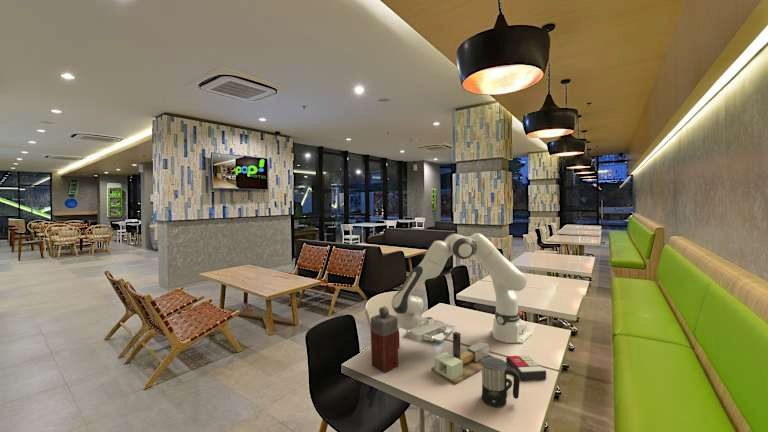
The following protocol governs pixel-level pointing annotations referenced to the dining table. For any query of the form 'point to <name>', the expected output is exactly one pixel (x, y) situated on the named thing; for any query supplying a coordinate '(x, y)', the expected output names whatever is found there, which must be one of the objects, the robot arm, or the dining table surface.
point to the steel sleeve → (479, 351)
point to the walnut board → (465, 371)
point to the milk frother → (497, 381)
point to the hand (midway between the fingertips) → (440, 336)
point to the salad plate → (441, 337)
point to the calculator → (526, 367)
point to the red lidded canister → (384, 341)
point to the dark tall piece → (464, 356)
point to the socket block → (448, 365)
